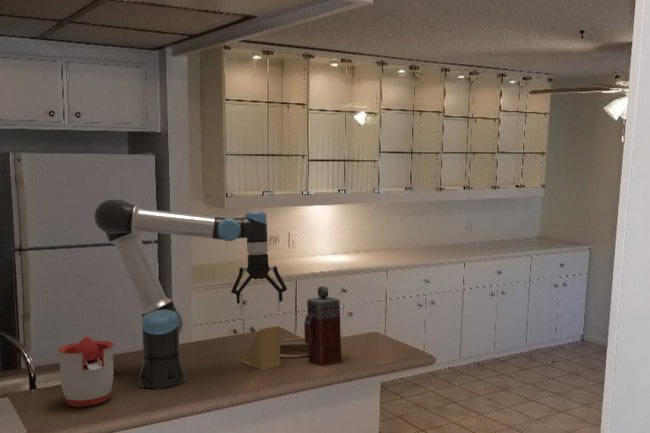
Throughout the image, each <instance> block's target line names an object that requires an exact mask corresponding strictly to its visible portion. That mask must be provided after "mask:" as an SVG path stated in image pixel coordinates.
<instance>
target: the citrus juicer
mask: <svg viewBox="0 0 650 433" xmlns="http://www.w3.org/2000/svg"><path fill="white" fill-rule="evenodd" d="M114 346H115V345H114V343H113V341H112V342H111V341H105V340H93V339H91V338H90V337H89V336H84V337H83V338H82V339H81V340H80V341H79V342H74V343H71V344H67V345H63V346H60V347H59V349H58V350H57V351H58V352H59V373H60V385H61V389H62V393H63V396H64V399H65V401H66V403H67V405H68V404H69V405H68V406H70V405H71V407H76V408H78V407H81V408H83V406H84V407H89V406H90V407H92V406H96V405H99V404H103V403H102V402H104V403H106V402H107V401H108V400H109V398H110V395H111V392H112V388H113V385H114V384H113V382H114Z"/></svg>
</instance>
